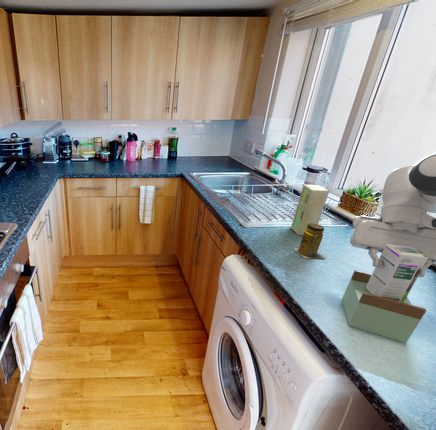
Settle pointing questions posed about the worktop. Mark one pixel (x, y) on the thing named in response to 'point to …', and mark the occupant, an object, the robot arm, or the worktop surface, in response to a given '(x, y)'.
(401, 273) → the syrup box
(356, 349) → the worktop surface
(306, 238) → the condiment
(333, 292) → the worktop surface
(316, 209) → the toy refrigerator
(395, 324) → the open green tray
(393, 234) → the robot arm
